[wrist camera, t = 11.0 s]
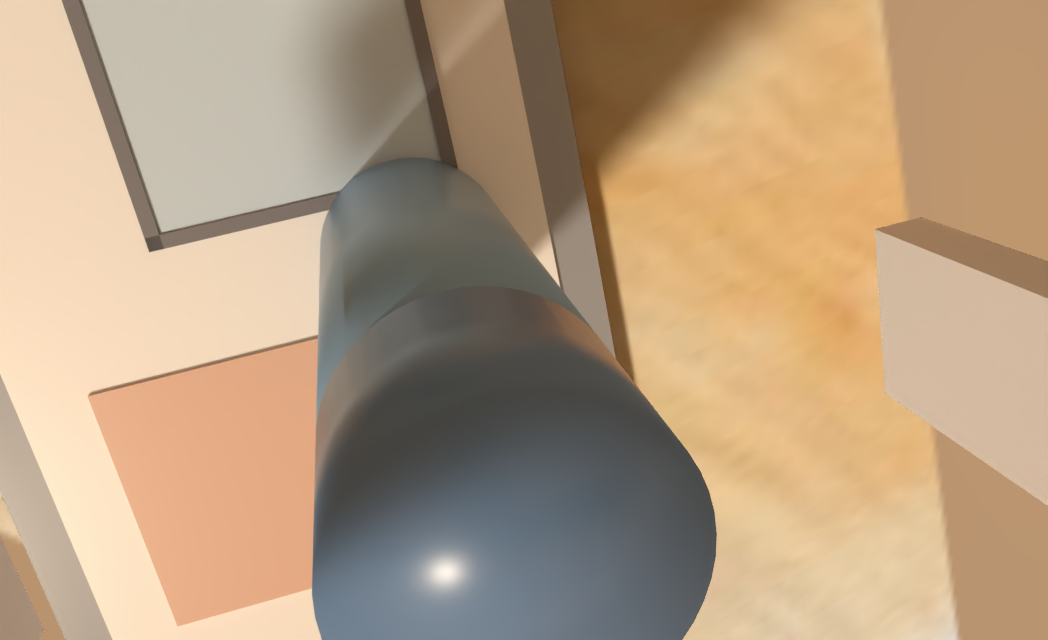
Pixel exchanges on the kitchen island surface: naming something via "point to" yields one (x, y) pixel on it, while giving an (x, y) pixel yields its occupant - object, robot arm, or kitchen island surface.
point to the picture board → (225, 270)
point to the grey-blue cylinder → (483, 439)
